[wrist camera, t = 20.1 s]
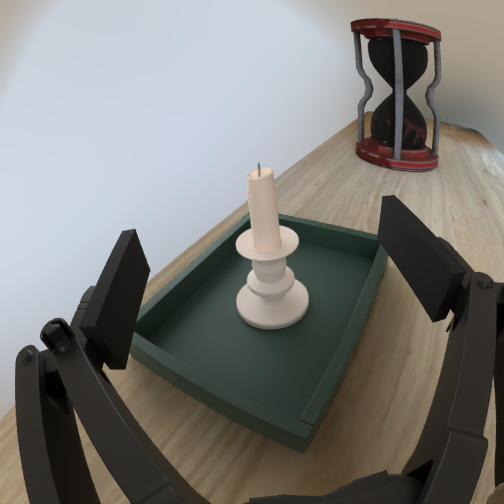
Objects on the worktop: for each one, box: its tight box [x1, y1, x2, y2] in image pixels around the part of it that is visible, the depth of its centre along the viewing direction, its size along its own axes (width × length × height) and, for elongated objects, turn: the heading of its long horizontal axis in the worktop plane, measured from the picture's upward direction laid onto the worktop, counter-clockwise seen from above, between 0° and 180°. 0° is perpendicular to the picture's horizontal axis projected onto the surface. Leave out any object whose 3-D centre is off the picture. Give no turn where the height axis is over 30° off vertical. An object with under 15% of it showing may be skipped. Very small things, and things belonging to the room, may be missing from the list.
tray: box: [129, 212, 388, 453], centre depth 21 cm, size 18×14×3 cm
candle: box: [236, 163, 309, 330], centre depth 18 cm, size 5×5×10 cm
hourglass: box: [351, 18, 441, 171], centre depth 40 cm, size 16×16×25 cm
